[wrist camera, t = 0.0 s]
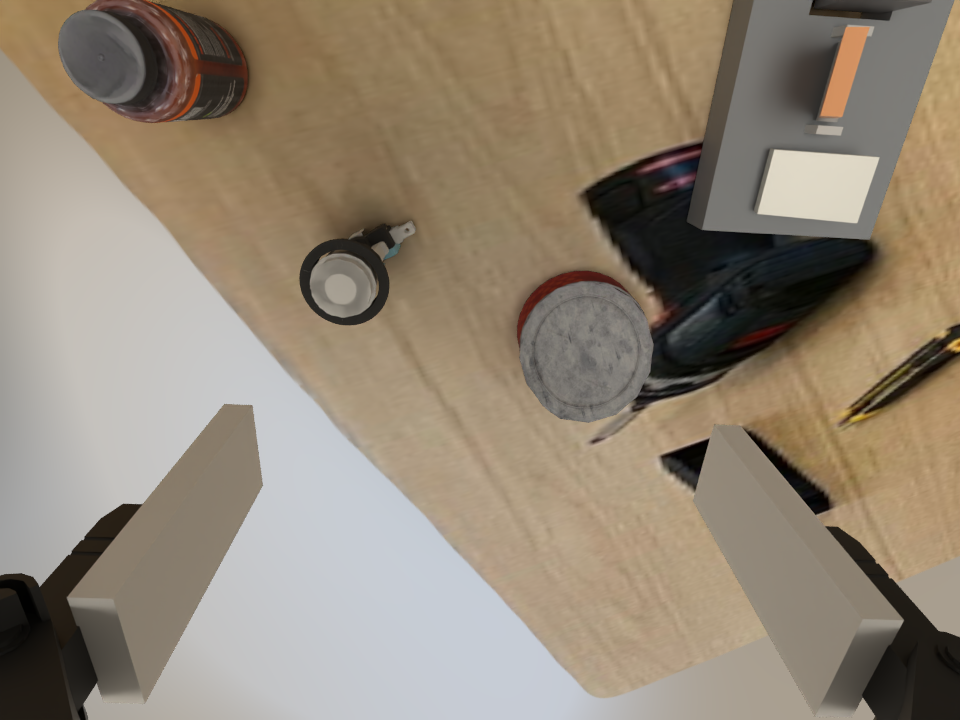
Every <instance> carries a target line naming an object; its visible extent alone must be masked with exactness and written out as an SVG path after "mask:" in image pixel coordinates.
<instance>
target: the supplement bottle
mask: <svg viewBox="0 0 960 720" xmlns="http://www.w3.org/2000/svg"><path fill="white" fill-rule="evenodd" d="M58 49H59V54H60V58H61V61H62V63H63V67H64V69H65V71H66V72H67V74H68V76H69V77H70V78H71V80H72V81H73V83H74V84H75V85H76V86H77V87H78V88H80V90H82V91H83V92H84V93H86V94H87V95H89V96H90V97H91V98H93V99H96V100H98V101H101V102H102V103H103V104H105V105H106V106H107V107H109V108H110V109H111V110H113V111H114V112H116V113H118V114H120V115H122V116H124V117H126V118H128V119H132V120H135V121H140V122H148V123H158V122H174V121H187V120H199V119H212V118H219V117H222V116H224V115H227V114H229V113H231V112H232V111H233V110H234V109H236V108H237V107H238V105H239V104H240V103H241V102H242V99H243V98H244V96H245V93H246V89H247V84H248V72H247V66H246V61H245V58H244V56H243V53H242V51H241V50H240V48H239V46H238V44H237V43H236V41H235V40H234V39H233V37H232V36H231V35H230V34H229V33H228V32H227V31H226V30H225V29H224V28H222V27H221V26H219V25H218V24H216V23H214V22H213V21H210V20H208V19H206V18H204V17H201V16H197V15H194V14H191V13H187V12H183V11H180V10H177V9H174V8H171V7H167V6H163V5H160V4H157V3H153V2H150V1H146V0H97V1H95V2H94V3H92V4H90V5H89V6H88V7H87V8H86V9H85V10H82V11H78V12H76V13H74V14H72V15H71V16H70V17H69V18H68V19H67V20H66V21H65V22H64V24H63V26H62V27H61V30H60V33H59V41H58Z"/></svg>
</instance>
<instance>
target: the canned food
mask: <svg viewBox="0 0 960 720" xmlns="http://www.w3.org/2000/svg"><path fill="white" fill-rule="evenodd" d="M517 338H518V343H519V348H520V357H519V358H520V362H521V365H522V369H523V372H524V376H525V380H526V383H527V385H528V386H529V387H530V389H531V390H532V391H533V393H534V394H535V395H536V397H537V398H538V400H539V401H540V403H541V404H542V405H543V406H544V407H545V408H546V409H547V410H549V411H550V412H551V413H553V414H554V415H556V416H557V417H559V418H560V419H566V420H574V421H581V422H588V423H589V422H592V421H596V420H599V419H603V418H606V417H610V416H613V415H616V414H617V413H618V412H619V411H621V410H622V409H623V408H624V407H625V406H626V405H628V404H629V403H630V402H631V401H632V400H634V399H635V398H636V397H637V396H638V394H639V392H640V390H641V388H642V386H643V384H644V382H645V380H646V378H647V377H648V375H649V373H650V368H651V357H652V351H653V342H652V338H651V335H650V331H649V326H648V322H647V318H646V317H645V314H644V312H643V310H642V309H641V307H640V306H639V304H638V302H637V301H636V300H635V299H634V298H633V297H632V296H631V295H630V294H629V293H628V291H627V290H626V289H625V288H624V287H623V286H622V285H621V284H620V283H618V282H617V281H615V280H614V279H612V278H611V277H609V276H606V275H603V274H601V273H597V272H591V271H573V272H568V273H564V274H561V275H558V276H556V277H554V278H551V279H550V280H548V281H547V282H545V283H543V284H542V285H540V286H539V287H538V288H537V289H536V290H535V291H534V292H533V293H532V294H531V295H530V297H529V298H528V300H527V301H526V303H525V304H524V306H523V309H522V311H521V313H520V316H519V320H518V325H517Z"/></svg>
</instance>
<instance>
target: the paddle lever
mask: <svg viewBox="0 0 960 720" xmlns="http://www.w3.org/2000/svg"><path fill="white" fill-rule="evenodd" d="M869 28H870V27H846V28H845V31H844V34H843V37H842V40H841V41H839V42H838V46H837V49H836V53H835V56H834V60H833V63H832V67H831V70H830V74H829V77H828V80H827V84H826V87H825V91H824V94H823V98H822V101H821V105H820V108H819V112H818V115H817V119H816V121H825V122H838V119H839V118H840V117H842V116H843V113H844V110H845V106H846V103H847V100H848V97H849V93H850V90H851V87H852V83H853V80H854V77H855V74H856V70H857V67H858V64H859V61H860V57H861V54H862V51H863V48H864V44H865V41H866V38H867V34H868V31H869Z"/></svg>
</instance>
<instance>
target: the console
mask: <svg viewBox="0 0 960 720" xmlns="http://www.w3.org/2000/svg"><path fill="white" fill-rule="evenodd" d="M812 1H813V0H734V2H733V6H732V11H731V16H730V20H729V25H728V30H727V34H726V39H725V44H724V48H723V53H722V58H721V63H720V67H719V72H718V77H717V81H716V86H715V91H714V95H713V100H712V105H711V109H710V114H709V119H708V123H707V128H706V133H705V138H704V142H703V147H702V152H701V156H700V161H699V166H698V170H697V175H696V180H695V184H694V189H693V194H692V199H691V203H690V208H689V213H688V217H687V222H688V223H690V224H692V225H694V226H696V227H697V228H699V229H701V230H712V231H729V232H747V233H765V234H783V235H800V236H818V237H836V238H854V239H870V236H871V234H872V231H873V228H874V225H875V222H876V219H877V217H878V214H879V211H880V208H881V205H882V203H883V200H884V197H885V194H886V191H887V188H888V186H889V183H890V180H891V177H892V174H893V172H894V169H895V166H896V163H897V160H898V158H899V155H900V152H901V149H902V146H903V143H904V141H905V138H906V135H907V132H908V129H909V127H910V124H911V121H912V118H913V115H914V112H915V110H916V107H917V104H918V101H919V98H920V96H921V93H922V90H923V87H924V84H925V81H926V79H927V76H928V73H929V70H930V67H931V65H932V62H933V59H934V56H935V53H936V51H937V48H938V45H939V42H940V39H941V36H942V34H943V31H944V28H945V25H946V22H947V20H948V17H949V14H950V11H951V8H952V5H953V3H954V0H932V2H931V3H927V4H923V5H918V6H914V7H909V8H905V9H900V10H896V11H891V12H886V13H882V14H879V13H865V12H862V15H861V18H860V19H857V18H843V17H829V16H816V15H809V12H810V8H811V5H812ZM846 27H870V28H869V31H868V34H867V38H866V41H865V44H864V48H863V51H862V54H861V57H860V61H859V64H858V67H857V70H856V74H855V77H854V80H853V83H852V87H851V90H850V93H849V97H848V100H847V103H846V106H845V110H844V113H843V116H842V117H840V118H839V119H838V122H825V121H816V119H817V115H818V112H819V108H820V105H821V101H822V98H823V94H824V91H825V87H826V84H827V80H828V77H829V74H830V70H831V67H832V63H833V60H834V56H835V53H836V49H837V46H838V42H839V41H841V40H842V37H843V34H844V31H845V28H846ZM770 149H783V150H797V151H811V152H824V153H838V154H852V155H865V156H875V157H880V158H879V161H878V164H877V167H876V170H875V173H874V175H873V178H872V181H871V184H870V187H869V190H868V193H867V196H866V199H865V202H864V205H863V208H862V211H861V213H860V216H859V219H858V222H857V223H848V222H837V221H827V220H816V219H806V218H795V217H784V216H774V215H763V214H757V213H756V212H754V208H755V204H756V200H757V197H758V193H759V189H760V185H761V181H762V178H763V174H764V170H765V166H766V162H767V158H768V155H769V151H770Z"/></svg>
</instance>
